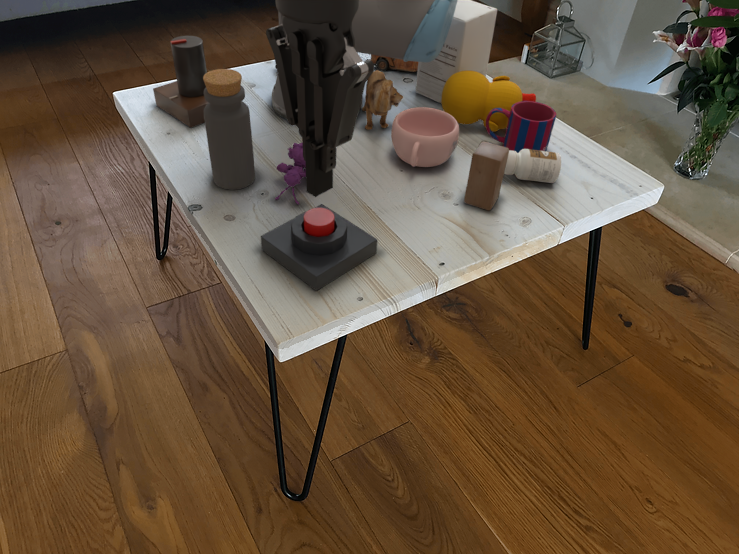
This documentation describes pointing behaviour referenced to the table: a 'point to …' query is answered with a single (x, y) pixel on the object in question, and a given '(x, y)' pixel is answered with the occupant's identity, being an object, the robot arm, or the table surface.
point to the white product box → (459, 48)
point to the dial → (189, 65)
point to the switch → (319, 222)
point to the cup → (526, 126)
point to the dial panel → (180, 104)
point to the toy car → (394, 64)
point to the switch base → (319, 249)
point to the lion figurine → (379, 98)
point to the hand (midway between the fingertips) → (319, 189)
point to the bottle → (228, 130)
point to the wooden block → (486, 175)
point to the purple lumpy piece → (293, 168)
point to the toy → (481, 98)
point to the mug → (424, 136)
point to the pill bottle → (534, 165)
